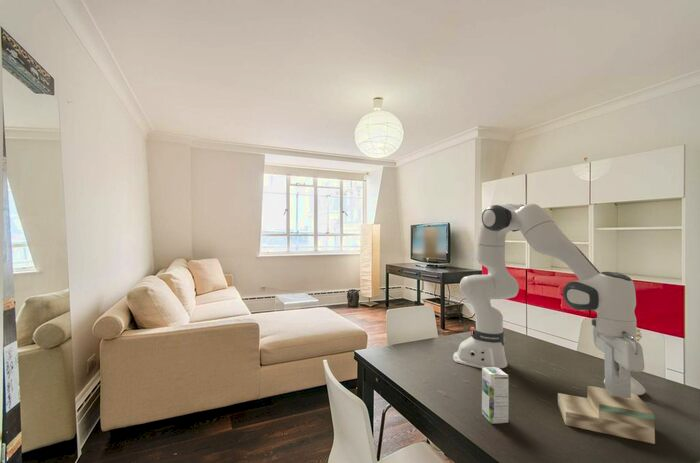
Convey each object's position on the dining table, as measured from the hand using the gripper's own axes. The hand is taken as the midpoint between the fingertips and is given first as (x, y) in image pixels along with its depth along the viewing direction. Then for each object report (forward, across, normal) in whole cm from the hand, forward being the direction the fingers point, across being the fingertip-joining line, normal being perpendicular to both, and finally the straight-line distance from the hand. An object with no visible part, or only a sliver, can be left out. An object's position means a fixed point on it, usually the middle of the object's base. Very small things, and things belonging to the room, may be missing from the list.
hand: (617, 374), depth 91 cm
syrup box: (+15, -6, +34) cm, 38 cm away
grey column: (+6, 0, 0) cm, 6 cm away
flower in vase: (+15, +25, -14) cm, 33 cm away
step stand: (+15, 0, +4) cm, 16 cm away
